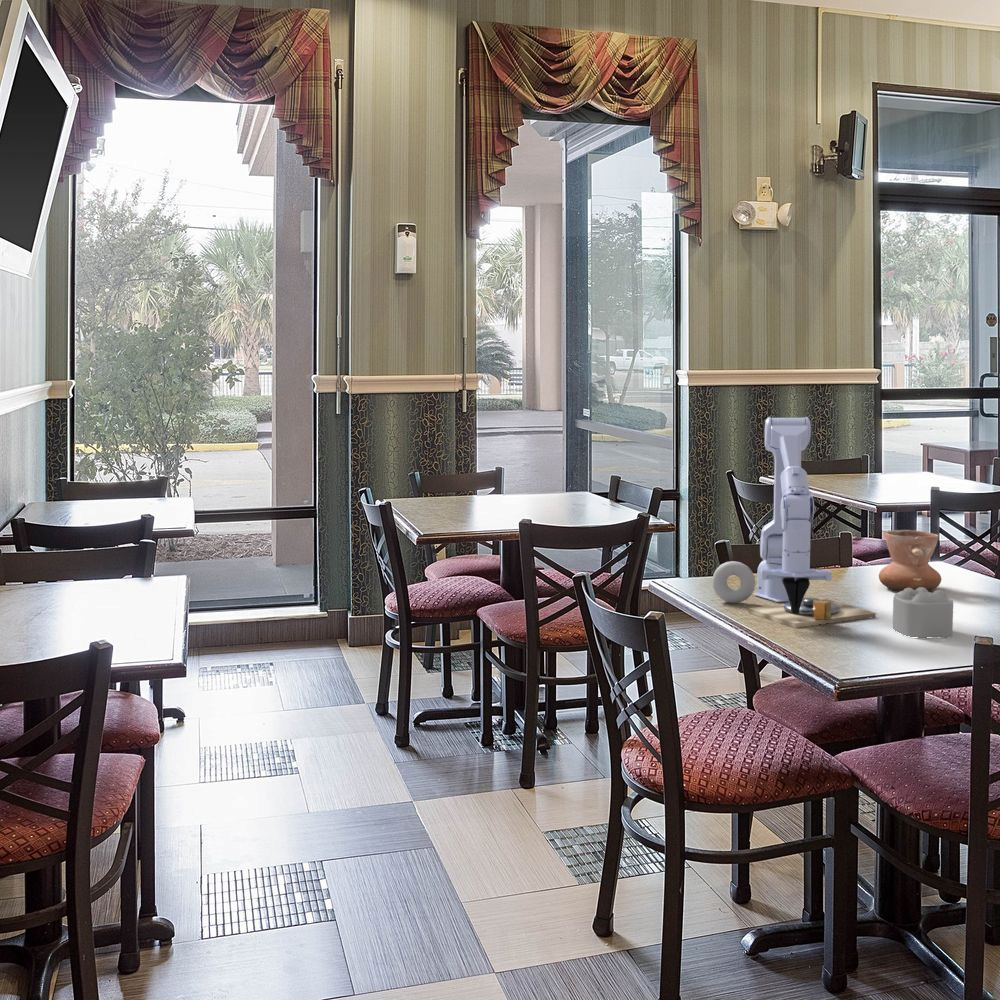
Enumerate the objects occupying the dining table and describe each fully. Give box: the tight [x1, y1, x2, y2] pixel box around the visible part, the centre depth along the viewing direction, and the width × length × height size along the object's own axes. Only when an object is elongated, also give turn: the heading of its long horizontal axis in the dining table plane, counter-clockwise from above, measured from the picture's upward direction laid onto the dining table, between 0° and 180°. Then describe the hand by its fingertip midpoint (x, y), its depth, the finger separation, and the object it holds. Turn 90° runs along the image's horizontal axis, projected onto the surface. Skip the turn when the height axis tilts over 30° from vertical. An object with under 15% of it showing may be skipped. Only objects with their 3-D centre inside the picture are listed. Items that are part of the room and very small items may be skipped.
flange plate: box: [783, 597, 840, 619], centre depth 237 cm, size 12×16×4 cm
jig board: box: [748, 598, 877, 629], centre depth 238 cm, size 17×22×5 cm
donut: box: [711, 560, 756, 604], centre depth 252 cm, size 10×4×10 cm, turn 69°
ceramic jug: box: [878, 529, 942, 592], centre depth 265 cm, size 18×14×14 cm
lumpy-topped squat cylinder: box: [891, 587, 954, 639], centre depth 223 cm, size 10×13×9 cm
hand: (794, 612), depth 231 cm, fingers closed
